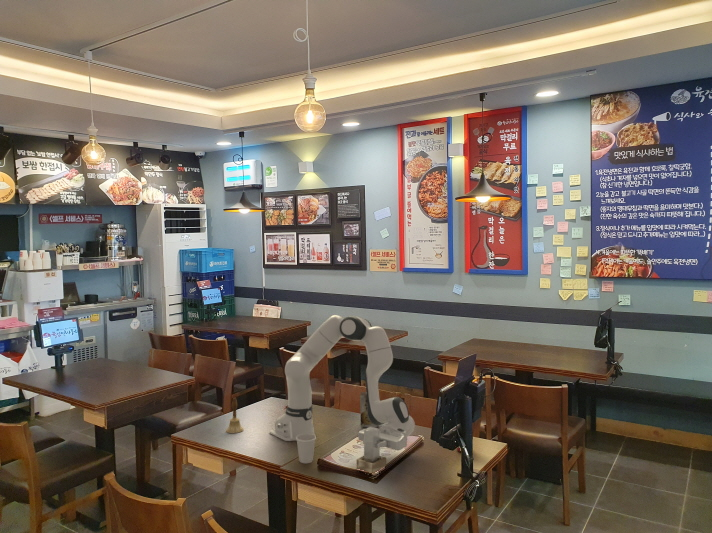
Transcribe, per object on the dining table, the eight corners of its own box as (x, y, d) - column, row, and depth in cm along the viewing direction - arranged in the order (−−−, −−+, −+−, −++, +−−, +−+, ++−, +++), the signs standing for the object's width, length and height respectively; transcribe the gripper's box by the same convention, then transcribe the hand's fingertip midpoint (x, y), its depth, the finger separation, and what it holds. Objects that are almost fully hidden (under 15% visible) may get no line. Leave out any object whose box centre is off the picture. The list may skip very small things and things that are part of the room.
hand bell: (222, 430, 255) (222, 397, 254) (238, 426, 260) (238, 394, 260) (231, 434, 248) (231, 401, 248) (246, 430, 254) (246, 398, 253)
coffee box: (379, 423, 265) (379, 391, 265) (378, 427, 259) (378, 395, 258) (361, 422, 266) (361, 391, 266) (360, 427, 260) (360, 394, 259)
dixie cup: (297, 456, 223) (297, 433, 222) (317, 456, 223) (317, 433, 222) (294, 464, 214) (294, 440, 214) (314, 464, 214) (314, 440, 214)
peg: (364, 461, 209) (364, 429, 209) (370, 458, 213) (370, 426, 212) (373, 464, 206) (373, 431, 206) (379, 460, 210) (379, 428, 210)
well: (356, 470, 209) (356, 459, 209) (368, 463, 216) (368, 452, 215) (373, 476, 204) (374, 464, 204) (385, 468, 211) (386, 457, 210)
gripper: (369, 422, 226) (349, 431, 215) (410, 432, 214) (391, 442, 203) (369, 436, 226) (349, 446, 215) (410, 447, 214) (391, 458, 203)
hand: (370, 444), depth 209 cm, fingers closed on peg, 4 cm apart
